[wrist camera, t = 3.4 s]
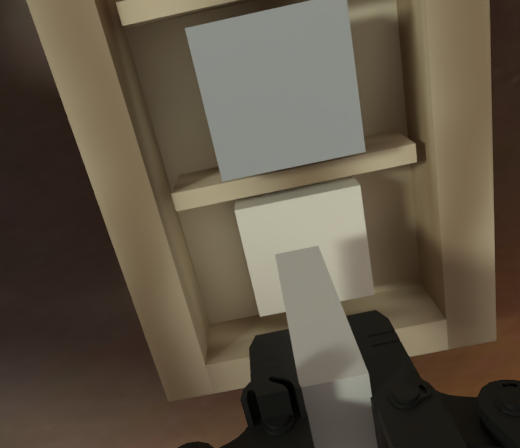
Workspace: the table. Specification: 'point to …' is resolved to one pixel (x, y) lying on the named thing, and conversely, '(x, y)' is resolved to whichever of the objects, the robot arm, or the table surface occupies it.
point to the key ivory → (306, 237)
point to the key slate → (279, 87)
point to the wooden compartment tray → (283, 174)
